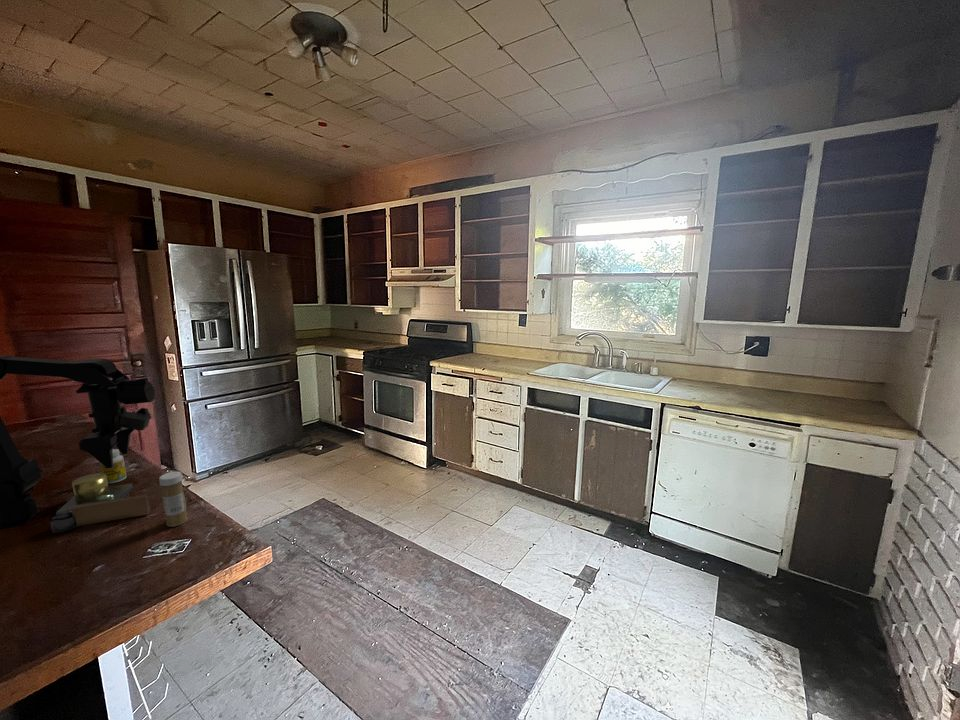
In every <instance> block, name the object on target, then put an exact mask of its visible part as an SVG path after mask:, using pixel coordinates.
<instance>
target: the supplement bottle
mask: <svg viewBox="0 0 960 720" xmlns="http://www.w3.org/2000/svg"><path fill="white" fill-rule="evenodd" d="M112 453H113V467H112V468H106V467H105V466H104V465H103V464H102V463H100V462H99V463H100V468H101V473H104V474H106V476H107V482H108V485H109V484H116V483H119V482H122V481H123V480H126V478H127V469H126V464H125V459H124V455H120V451H119V449H118V448H113V449H112Z"/></svg>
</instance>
